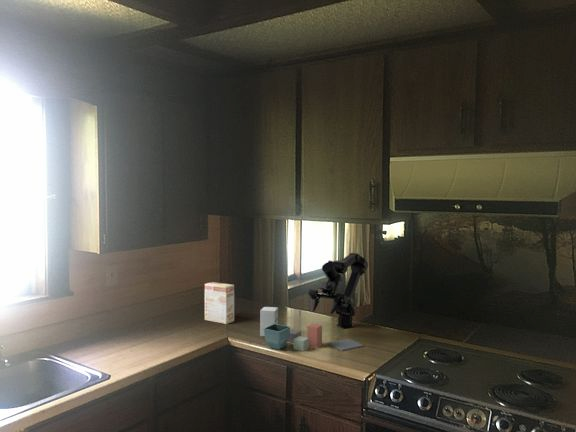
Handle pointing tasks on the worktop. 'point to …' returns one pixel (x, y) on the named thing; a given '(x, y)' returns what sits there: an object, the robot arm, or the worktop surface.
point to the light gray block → (293, 335)
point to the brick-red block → (314, 335)
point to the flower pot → (276, 335)
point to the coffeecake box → (219, 302)
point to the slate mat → (345, 344)
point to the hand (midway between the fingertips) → (322, 312)
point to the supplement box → (268, 318)
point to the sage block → (301, 343)
